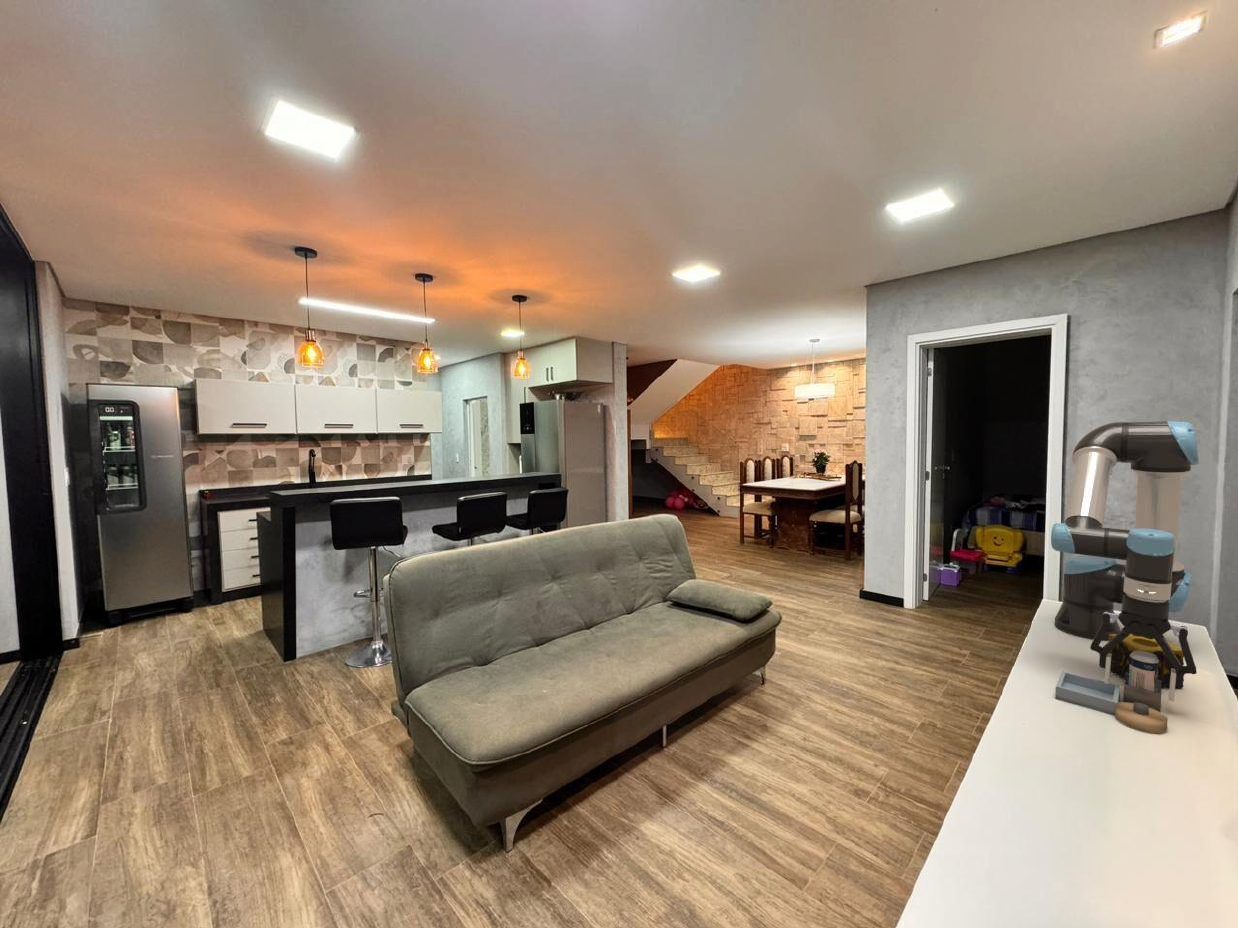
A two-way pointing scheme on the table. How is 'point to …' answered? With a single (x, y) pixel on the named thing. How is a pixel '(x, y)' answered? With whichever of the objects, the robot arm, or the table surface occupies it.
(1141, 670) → the beer can
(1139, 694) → the bracket
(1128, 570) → the robot arm
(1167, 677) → the yellow holed block
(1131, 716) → the disc
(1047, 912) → the table surface
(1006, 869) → the table surface
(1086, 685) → the tray
